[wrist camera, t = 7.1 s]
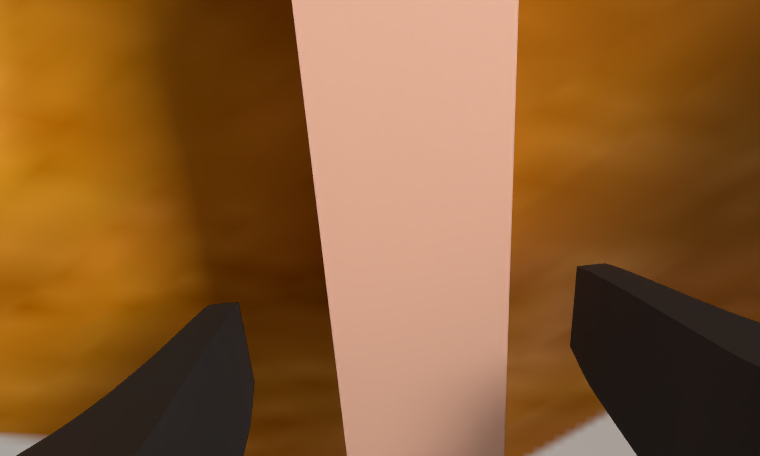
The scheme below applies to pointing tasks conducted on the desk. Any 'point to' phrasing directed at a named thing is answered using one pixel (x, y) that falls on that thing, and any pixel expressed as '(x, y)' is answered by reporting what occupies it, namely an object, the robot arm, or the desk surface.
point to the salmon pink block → (414, 214)
